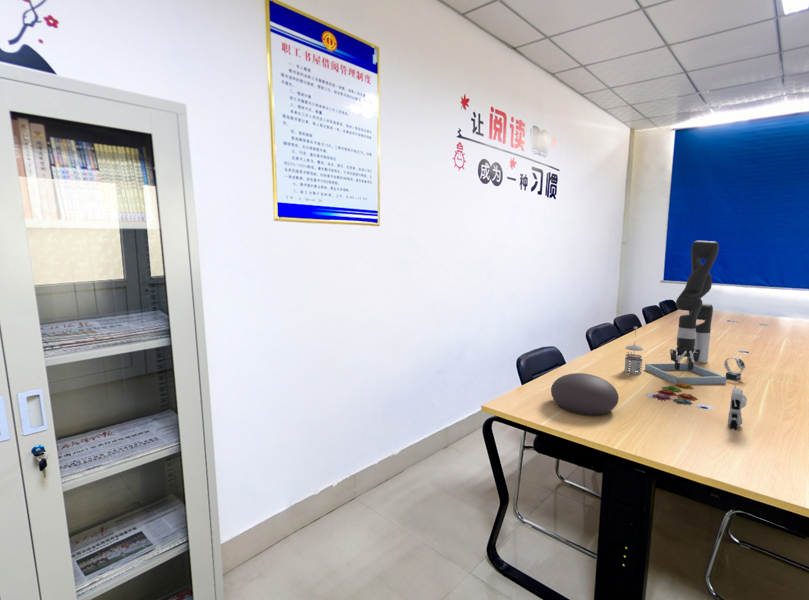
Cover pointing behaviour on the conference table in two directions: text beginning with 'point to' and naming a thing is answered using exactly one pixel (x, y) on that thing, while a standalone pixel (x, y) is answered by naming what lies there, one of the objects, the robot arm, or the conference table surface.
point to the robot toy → (736, 408)
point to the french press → (633, 359)
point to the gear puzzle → (669, 391)
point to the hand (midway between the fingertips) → (683, 369)
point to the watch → (732, 374)
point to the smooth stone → (584, 394)
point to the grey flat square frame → (708, 379)
